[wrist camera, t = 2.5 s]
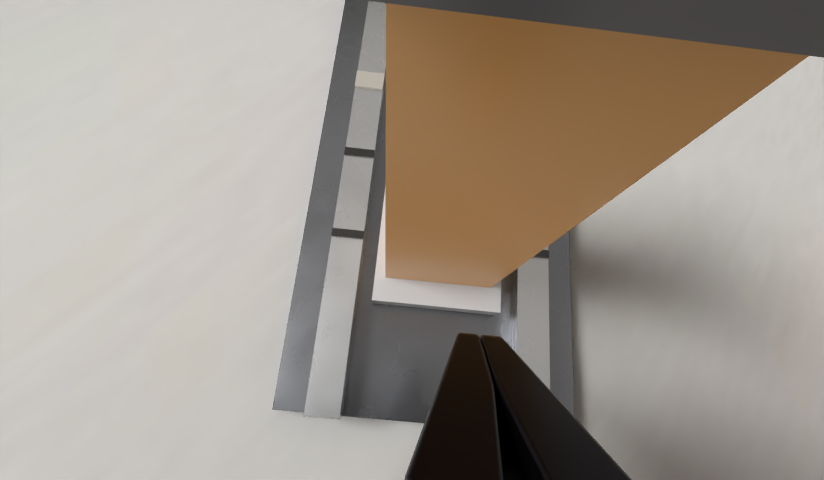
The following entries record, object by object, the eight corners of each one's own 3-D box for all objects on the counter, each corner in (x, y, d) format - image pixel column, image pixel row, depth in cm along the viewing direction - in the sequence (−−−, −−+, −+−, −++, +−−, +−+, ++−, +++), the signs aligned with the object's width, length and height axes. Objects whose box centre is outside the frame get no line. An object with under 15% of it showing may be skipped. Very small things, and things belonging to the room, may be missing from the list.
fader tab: (494, 315, 16) (1050, 64, 3) (372, 303, 16) (304, -31, 2) (497, 202, 17) (864, -328, 4) (385, 189, 17) (388, -402, 4)
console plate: (565, 432, 16) (609, 449, 12) (277, 407, 15) (251, 417, 12) (556, 22, 21) (584, -34, 18) (349, -4, 21) (343, -65, 18)
